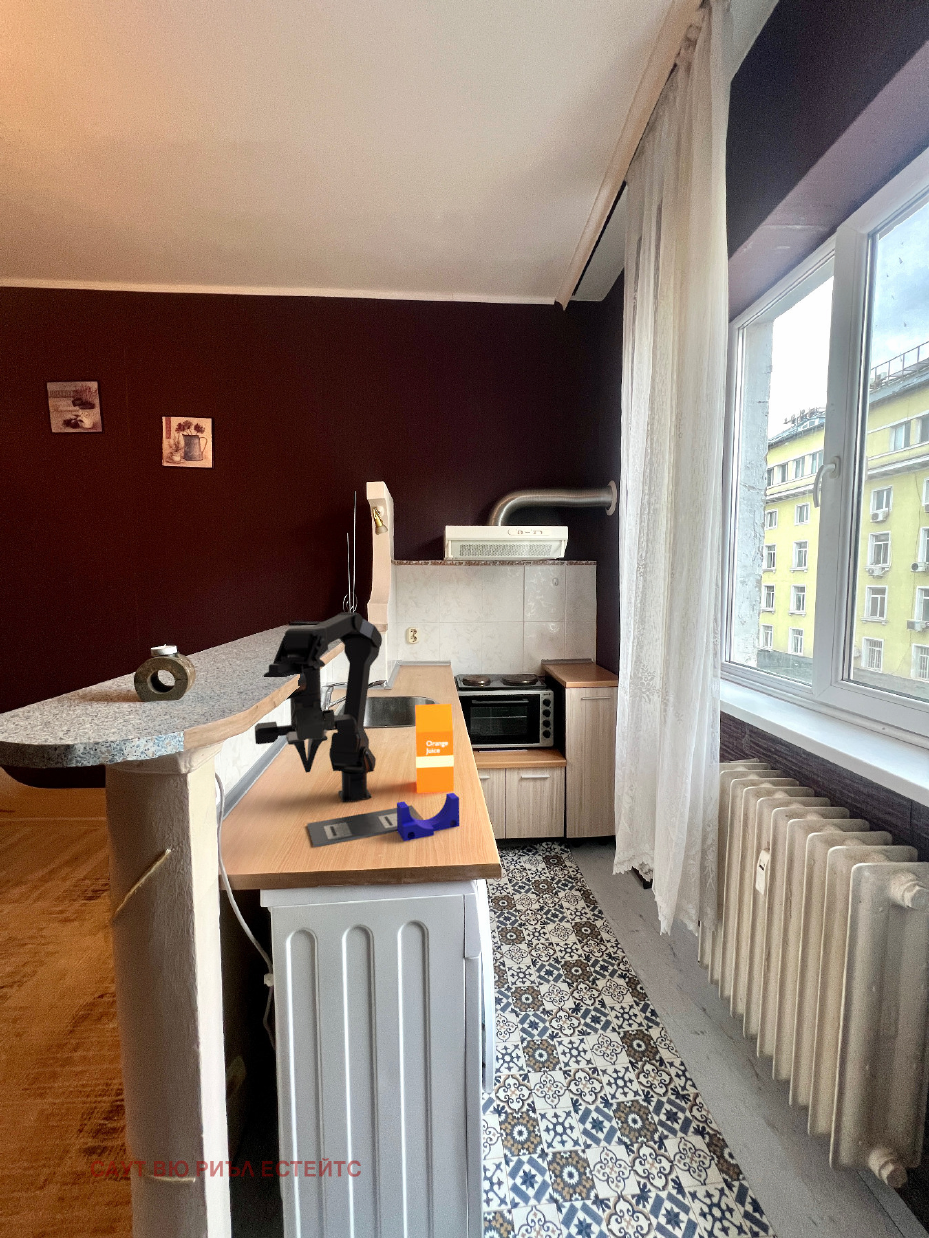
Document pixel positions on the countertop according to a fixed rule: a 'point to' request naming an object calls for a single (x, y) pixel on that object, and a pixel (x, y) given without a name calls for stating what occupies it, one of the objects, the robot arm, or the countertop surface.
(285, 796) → the countertop surface
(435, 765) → the orange juice
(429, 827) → the blue cradle bracket
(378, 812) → the plate
